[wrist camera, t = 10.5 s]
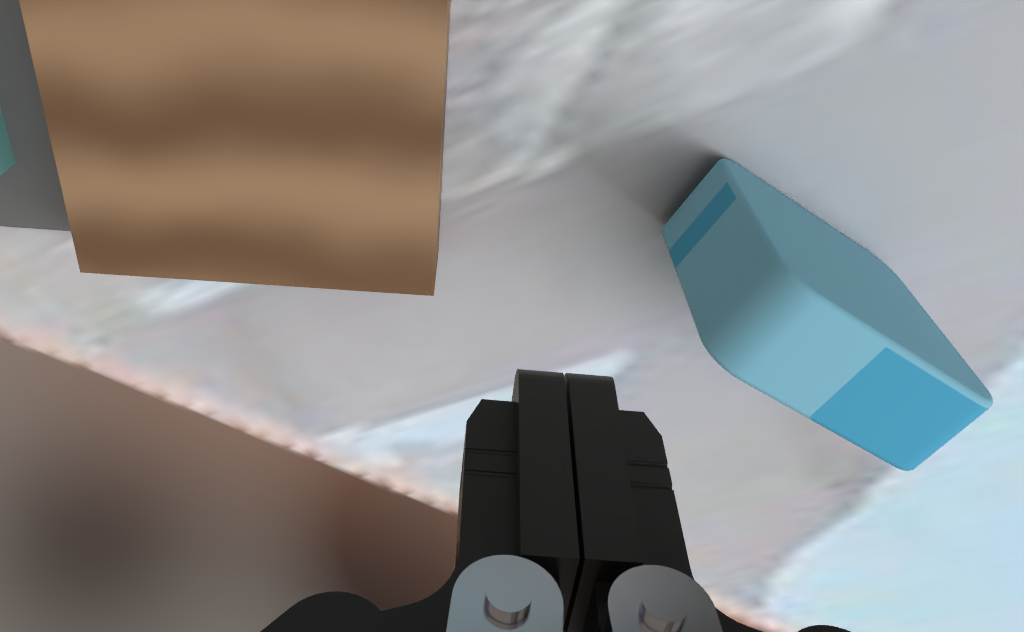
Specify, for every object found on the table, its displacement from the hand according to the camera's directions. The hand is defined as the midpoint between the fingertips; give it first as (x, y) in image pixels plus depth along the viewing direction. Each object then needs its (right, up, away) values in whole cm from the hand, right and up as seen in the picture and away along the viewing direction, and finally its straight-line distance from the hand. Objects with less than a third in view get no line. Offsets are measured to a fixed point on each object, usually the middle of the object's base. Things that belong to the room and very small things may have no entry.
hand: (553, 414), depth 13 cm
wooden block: (-12, +12, +24) cm, 29 cm away
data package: (+13, +5, +29) cm, 32 cm away
